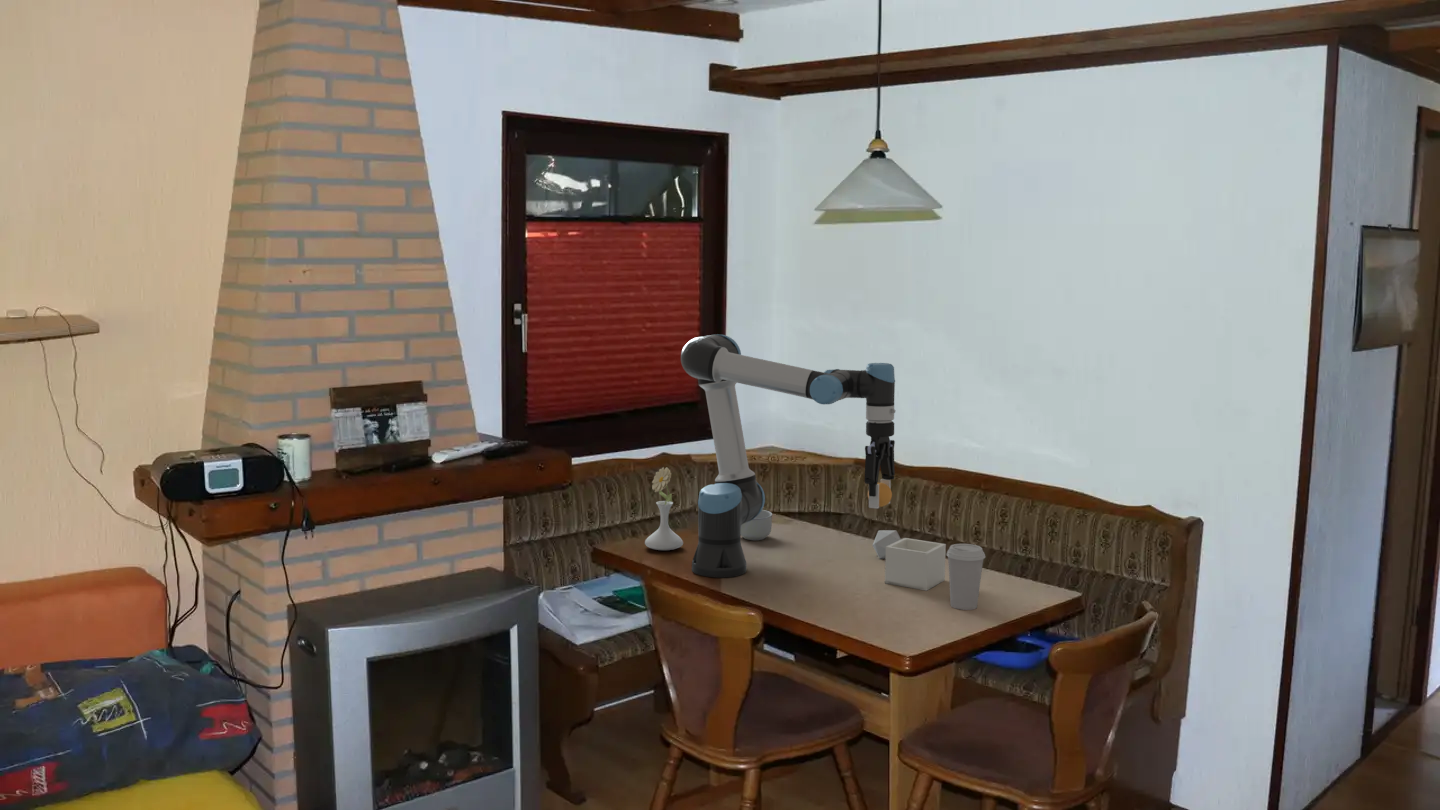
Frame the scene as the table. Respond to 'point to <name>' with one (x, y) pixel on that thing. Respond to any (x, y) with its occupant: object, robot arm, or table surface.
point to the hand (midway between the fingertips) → (879, 505)
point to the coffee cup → (965, 575)
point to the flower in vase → (663, 516)
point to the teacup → (757, 526)
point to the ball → (883, 494)
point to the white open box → (915, 564)
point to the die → (884, 541)
